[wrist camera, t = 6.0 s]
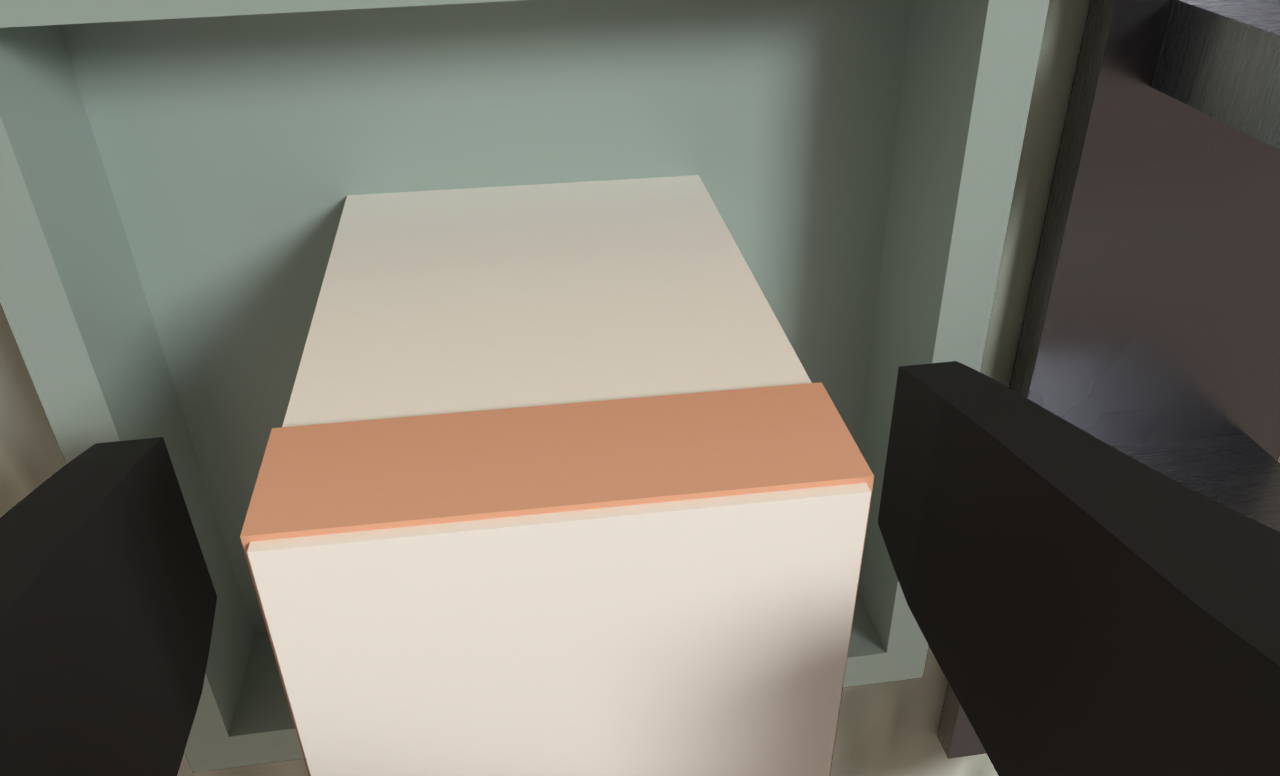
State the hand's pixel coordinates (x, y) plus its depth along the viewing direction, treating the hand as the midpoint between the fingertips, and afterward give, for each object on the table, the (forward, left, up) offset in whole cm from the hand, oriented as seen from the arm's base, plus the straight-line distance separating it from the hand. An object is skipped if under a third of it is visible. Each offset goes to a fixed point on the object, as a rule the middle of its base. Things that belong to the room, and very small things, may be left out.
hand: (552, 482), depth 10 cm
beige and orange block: (0, 0, -3) cm, 3 cm away
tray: (0, 0, -3) cm, 3 cm away
